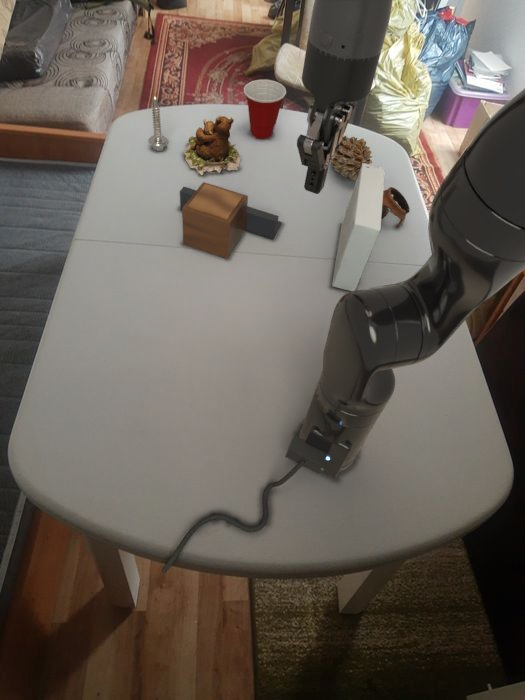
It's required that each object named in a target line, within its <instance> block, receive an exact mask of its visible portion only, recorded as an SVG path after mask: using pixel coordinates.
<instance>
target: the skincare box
mask: <svg viewBox="0 0 525 700" xmlns="http://www.w3.org/2000/svg"><path fill="white" fill-rule="evenodd" d="M385 174H386V168H385V167H380V166H377V165H372V164H365V163H362V166H361V169H360V172H359V175H358V178H357V180H355V181H356V182H355V184H354V188H353V190H352V193H351V195H350V198H349V201H348V205H347V207H346V210H345V213H344V217H343V220H342V221H341V222H342V223H341V226H340V232H339V238H338V244H337V251H336V256H335V263H334V267H333V268H334V269H333V275H332V281H331V287H333V288H337V289H341V290H346V291H348V292H350V291H354V290H357V287H358V285H359V283H360V280H361V277H362V275H363V272H364V270H365V268H366V265H367V263H368V261H369V258H370V255H371V253H372V251H373V248H374V246H375V244H376V241H377V239H378V236H379V234H380V232H381V229H382V228H381V227H382V219H381V216H382V203H383V191H385V189H384V188H385V187H384V186H385Z"/></svg>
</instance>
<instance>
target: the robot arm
mask: <svg viewBox="0 0 525 700" xmlns="http://www.w3.org/2000/svg"><path fill="white" fill-rule="evenodd" d="M392 6H393V0H314V1H313V6H312V11H311V17H310V24H309V29H308V36H307V42H306V49H305V55H304V60H303V67H302V74H301V82H302V85H303V87H304V88H305V89H306V91H309V93H310V94H311V95H312V97H313V99H314V101H313V103H312V104H310V106H309V107H308V111H307V117H306V122H307V132H306V135H305V134H302V133H301V134H299V136H298V137H297V139H296V147H297V151H298V154H299V159H300V162H301V163H300V164H301V165H302V166H305V167H307V170H306V174H305V179H304V185H303V188H304V190H305V191H307V192H309V193H312V194H316V195H318V194H320V193H321V192H322V190H323V189H324V187H325V184H326V179H327V175H328V172H329V168H330V164H331V161H332V160H333V158H334V152H337V150H338V149H339V147H340V143H341V140H342V138H343V137H344V136H345V133H346V129H347V128H348V124H349V122H350V120H351V117H352V114H353V113H354V110H355V109H356V103H357V102H359V101H362V100H364V99H366V98H367V97H368V96H369V95H370V93H371V90H372V87H373V83H374V80H375V76H376V71H377V68H378V64H379V61H380V57H381V53H382V49H383V46H384V43H385V39H386V35H387V32H388V28H389V23H390V20H391V14H392ZM427 228H428V229H427V231H428V240H429V246H430V251H431V255H430V256H429V258H428V259H427V260H426V261H425V263H423V265H422V266H421V267H420V268H419V269H418V270H416V271H417V272H415V273H414V274H413V275H412V276H410V277H408V278H407V279H405V280H402V281H400V282H396V283H391V284H385V285H379V286H372V287H367V288H360V289H356V290H354V291H347V292H346V293H344V294H343V295H342V296H341V297H340V298H339V299H338V301H337V303H336V305H335V307H334V309H333V313H332V316H331V321H330V325H329V328H328V331H327V337H326V341H325V344H324V348H323V354H322V369H321V373H320V376H319V378H318V381H317V384H316V386H315V390H314V393H313V395H312V398H311V401H310V404H309V406H308V410H307V412H306V415H305V418H304V421H303V424H302V426H301V429H300V431H299V434H298V436H297V435H294V436H293V438H292V439H291V442H290V444H289V446H288V447H287V451H286V454H285V458H287V459H288V460H290V461H292V462H295V463H296V464H295V466H293V467H292V469H291V470H290V471H289V472H287V473H286V474H285V475H284V476H283V477H282V478H280V479H279V480H276V481H272V482H271V483H269V484H267V486H266V487H265V489H264V491H263V493H262V519H261V522H259V523H258V524H257V525H253V526H249V525H246V524H244V523H242V522H240V521H238V520H236V519H235V518H233V517H231V516H229V515H227V514H222V513H215V514H214V513H213V514H210V515H207V516H206V517H204V518H202V519H200V520H199V521H198V522H196V523H195V524H194V525H193V526H192V527H190V529H189V530H188V531H187V532H186V534H185V536H184V537H183V538H182V539H181V541H180V542H179V544H178V546H177V547H176V549H175V550H174V552H173V553H172V554H171V556H170V557H169V559H168V560H167V562H166V563H165V564H164V566H163V567H162V568H161V573H162V574H165V573H167V572H168V571H169V569H170V568H171V567H172V566H173V564H174V563H175V561H176V560H177V559H178V557H179V556H180V554H181V552H182V551H183V549H184V548H185V546H186V545H187V543H188V542H189V540H190V539H191V537H192V536H193V535H194V534H195V532H196V531H197V530H199V528H201V527H202V526H203V525H205V524H207V523H209V522H211V521H214V520H221V521H225V522H227V523H229V524H231V525H233V526H234V527H236V528H238V529H239V530H240V529H241V530H242V531H245V532H249V533H254V532H258V531H261V530H262V529H263V528H264V527H266V525H267V524H268V519H269V505H268V497H269V493H270V492H271V490H272V489H273V488H276V487H280V486H282V485H283V484H285V483H286V482H287V481H288V480H290V479H291V478H292V477H293V476H294V475H296V473H297V472H298V471H299V470H300V469H302V467H305V468H306V469H309V470H311V471H313V472H315V473H317V474H320V473H321V472H322V473H324V474H326V475H328V476H330V477H332V478H337V476H338V475H339V473H340V472H343V471H345V470H347V469H348V468H350V467H351V465H352V464H353V463H354V461H355V460H356V458H357V456H358V454H359V452H360V450H361V448H363V446H364V444H365V441H366V440H367V438H368V436H369V435H370V433H371V432H372V429H373V428H374V426H375V425H376V423H377V421H378V420H379V418H380V416H381V415H382V413H383V411H384V410H385V408H386V406H387V405H388V403H389V402H390V400H391V399H392V397H393V394H394V392H395V388H396V376H395V373H394V369H399V368H403V367H408V366H411V365H415V364H416V365H417V364H419V363H421V362H424V361H426V360H428V359H429V358H431V357H432V356H434V354H436V353H437V352H438V351H439V350H440V349H441V348H442V347H443V346H444V345H445V344H446V343H447V342H448V341H449V339H450V338H451V337H452V336H453V335H454V333H455V332H456V331H457V330H458V329H459V328H460V327H461V326H462V324H463V323H464V322H465V321H466V320H467V319H468V318H469V317H470V316H471V315H472V314H473V313H474V312H475V311H476V309H478V308H479V307H480V306H481V305H482V304H484V303H485V302H486V301H488V300H489V299H490V298H492V297H493V296H494V295H496V294H497V293H498V292H499V291H500V290H502V289H503V288H505V286H506V285H508V283H510V282H511V281H512V280H513V279H515V278H516V277H517V276H518V275H519V274H521V272H523V271H524V270H525V87H524V88H523V89H521V91H518V93H517V94H516V95H514V96H513V97H512V98H511V99H510V100H509V101H507V103H505V104H504V105H503V106H502V107H500V108H499V109H498V110H497V111H496V112H495V113H494V114H493V115H492V116H491V117H490V118H489V119H488V120H487V121H486V122H485V123H484V124H483V125H482V126H481V128H479V130H478V132H477V133H476V134H475V135H474V137H473V138H472V139H471V140H470V141H469V143H468V145H467V146H466V147H465V149H464V150H463V152H462V153H461V154H460V155H459V157H458V159H457V160H456V162H455V163H454V165H453V166H452V167H451V169H450V170H449V172H448V173H447V175H446V176H445V177H444V179H443V180H442V182H441V184H440V185H439V187H438V188H437V190H436V191H435V194H434V196H433V198H432V201H431V204H430V208H429V212H428V225H427Z"/></svg>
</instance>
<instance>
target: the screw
mask: <svg viewBox="0 0 525 700" xmlns="http://www.w3.org/2000/svg"><path fill="white" fill-rule="evenodd" d="M151 114H152V115H151V116H152V121H153V122H152V128H153V130H152V131H153V135H151V136H150V137H149V138H148V139H147V142H148V144H149V145H150V146H152V149H153V150H154V151H156V152H161V151H164V150H165V149H164V148H165V146H167V145H168V144H169V139H168V138H167V137H166V136H165V135H162V125H161V109H160V106H159V101H158V97H157V96H156V95H153V96H152V107H151Z"/></svg>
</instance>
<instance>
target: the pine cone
mask: <svg viewBox="0 0 525 700" xmlns="http://www.w3.org/2000/svg"><path fill="white" fill-rule="evenodd" d="M370 148H371V147H370V146H368V145H367V141H365V139H364V138H360V139H358V137H355V136H351V137H347V135H343V138H342V140H341V143H340V147H339V149H338V150H337V152H334V158H333V160H332V161H331V163H330V166H331V168H335V172H337V173H338V175H340V174H341V176H342V177H343V178H346V179H347V178H349V180H351V181H353V180H354V181H357V178H358V175H359V172H360V169H361V166H362V163H365V164H369V165H371V164H372V163H373V161H372V160H371V159H372V158H373V156H372V153H373V151H372V150H371V149H370Z"/></svg>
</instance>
